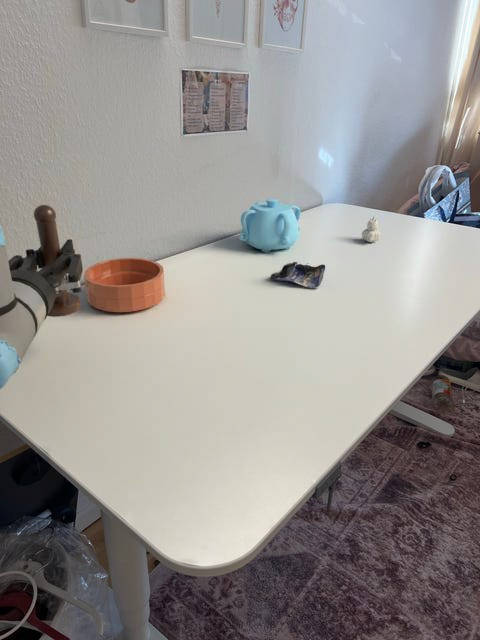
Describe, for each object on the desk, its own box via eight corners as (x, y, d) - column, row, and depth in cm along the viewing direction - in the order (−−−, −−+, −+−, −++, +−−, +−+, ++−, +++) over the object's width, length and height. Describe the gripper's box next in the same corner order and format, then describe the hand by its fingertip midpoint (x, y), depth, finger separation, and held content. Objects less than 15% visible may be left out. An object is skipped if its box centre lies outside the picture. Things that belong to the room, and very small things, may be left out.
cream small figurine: (379, 240, 147) (383, 214, 144) (378, 246, 142) (382, 219, 138) (361, 238, 149) (365, 212, 145) (359, 244, 143) (363, 218, 140)
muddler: (33, 315, 79) (12, 209, 71) (51, 299, 84) (33, 199, 76) (70, 318, 78) (53, 211, 70) (86, 301, 84) (72, 201, 76)
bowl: (75, 312, 99) (70, 283, 96) (104, 281, 114) (101, 255, 111) (153, 318, 98) (151, 289, 95) (172, 286, 112) (171, 260, 109)
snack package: (285, 295, 110) (330, 287, 113) (284, 267, 108) (330, 260, 111) (265, 283, 120) (306, 277, 124) (264, 258, 118) (306, 252, 122)
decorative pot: (286, 259, 131) (289, 209, 124) (232, 249, 136) (233, 201, 130) (304, 242, 144) (308, 197, 138) (255, 234, 150) (257, 190, 143)
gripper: (-41, 334, 62) (16, 268, 83) (84, 330, 64) (109, 266, 84) (-57, 280, 59) (7, 226, 80) (76, 278, 60) (105, 225, 81)
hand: (60, 247), depth 82 cm, fingers closed on muddler, 3 cm apart
